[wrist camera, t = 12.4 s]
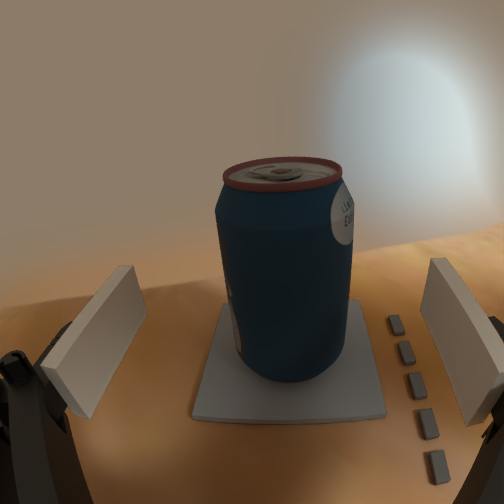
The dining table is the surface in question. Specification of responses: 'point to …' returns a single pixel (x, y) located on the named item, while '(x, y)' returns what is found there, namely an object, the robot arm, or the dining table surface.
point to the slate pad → (291, 395)
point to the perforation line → (425, 415)
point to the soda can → (287, 263)
